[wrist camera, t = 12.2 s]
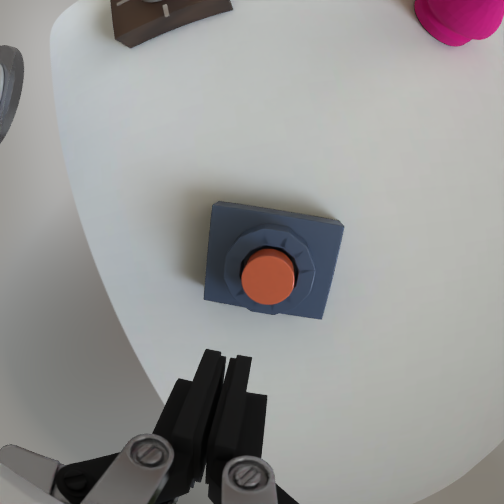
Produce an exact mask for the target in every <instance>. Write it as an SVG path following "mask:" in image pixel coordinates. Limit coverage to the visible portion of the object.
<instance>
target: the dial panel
mask: <svg viewBox="0 0 504 504" xmlns="http://www.w3.org/2000/svg"><path fill="white" fill-rule="evenodd" d="M111 10H112V20H113V28H114V36H115V39H116V40H118V41H119V42H121V43H123V44H124V45H126V46H128V47H129V48H132V47H134V46H136V45H139V44H141V43H143V42H145V41H147V40H149V39H152V38H154V37H156V36H158V35H161V34H163V33H166V32H168V31H171V30H173V29H176V28H178V27H181V26H183V25H186V24H189V23H192V22H195V21H198V20H200V19H203V18H207V17H210V16H213V15H216V14H219V13H223V12H226V11H230V10H233V8H232V5H231V2H230V0H161V1H158V2H144V1H142V0H111Z"/></svg>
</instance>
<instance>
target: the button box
mask: <svg viewBox="0 0 504 504" xmlns="http://www.w3.org/2000/svg"><path fill="white" fill-rule="evenodd" d="M343 231H344V226H343V224H342V223H341V222H340V221H338V220H333V219H327V218H322V217H316V216H311V215H305V214H299V213H293V212H287V211H281V210H275V209H269V208H263V207H256V206H250V205H243V204H236V203H229V202H222V201H218V202H217V203H215V204H213V205H212V213H211V223H210V233H209V243H208V254H207V265H206V277H205V289H204V300H209V301H214V302H219V303H224V304H229V305H235V306H240V307H246V308H247V309H249V310H250V311H253V312H259V313H265V314H271V315H273V314H274V315H275V314H278V313H281V314H288V315H294V316H301V317H307V318H314V319H322V317H323V313H324V310H325V306H326V302H327V298H328V295H329V291H330V287H331V283H332V279H333V275H334V271H335V266H336V262H337V258H338V254H339V249H340V245H341V240H342V235H343ZM262 249H276V250H279V251H281V252H283V253H284V254H285V255H287V256H288V258H289V259H290V260H291V262H292V264H293V267H294V279H295V282H294V287H293V290H292V292H291V294H290V295H289V296H288V297H287V298H286V299H285V300H283V301H281V302H279V303H277V304H272V305H265V304H260V303H257V302H255V301H254V300H252V299H251V298H250V297H249V296H248V295H247V294H246V293H245V291H244V289H243V287H242V283H241V276H242V272H243V269H244V267H245V264H246V262H247V260H248V259H249V257H250V256H251V255H252V254H254V253H255V252H257V251H259V250H262Z"/></svg>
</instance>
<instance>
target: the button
mask: <svg viewBox="0 0 504 504" xmlns="http://www.w3.org/2000/svg"><path fill="white" fill-rule="evenodd" d="M294 282H295V279H294V267H293V264H292V262H291V260H290V259H289V258H288V256H287V255H285V254H284V253H283V252H281V251H279V250H276V249H262V250H259V251H257V252H255V253H254V254H252V255H251V256H250V257H249V259H248V260H247V262H246V264H245V267H244V269H243V272H242V276H241V283H242V287H243V289H244V291H245V293H246V294H247V295H248V296H249V297H250V298H251V299H252V300H254V301H255V302H257V303H260V304H265V305H272V304H277V303H279V302H281V301H283V300H285V299H286V298H287V297H288V296H289V295H290V294H291V292H292V290H293V287H294Z"/></svg>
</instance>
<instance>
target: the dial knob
mask: <svg viewBox="0 0 504 504" xmlns="http://www.w3.org/2000/svg"><path fill="white" fill-rule="evenodd" d="M142 1H144V2H158V1H161V0H142Z"/></svg>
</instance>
